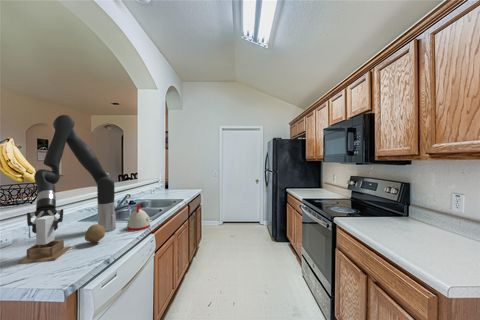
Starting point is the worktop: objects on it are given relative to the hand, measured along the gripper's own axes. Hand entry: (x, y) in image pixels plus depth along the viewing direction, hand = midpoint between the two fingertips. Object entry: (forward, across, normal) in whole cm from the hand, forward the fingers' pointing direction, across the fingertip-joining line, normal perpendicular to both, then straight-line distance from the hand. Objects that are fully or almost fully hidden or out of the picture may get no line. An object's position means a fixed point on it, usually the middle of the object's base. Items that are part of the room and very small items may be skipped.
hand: (45, 230), depth 109 cm
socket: (+8, 0, +9) cm, 12 cm away
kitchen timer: (-5, +46, +22) cm, 52 cm away
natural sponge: (+5, +21, +12) cm, 25 cm away
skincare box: (+3, 0, +6) cm, 6 cm away
